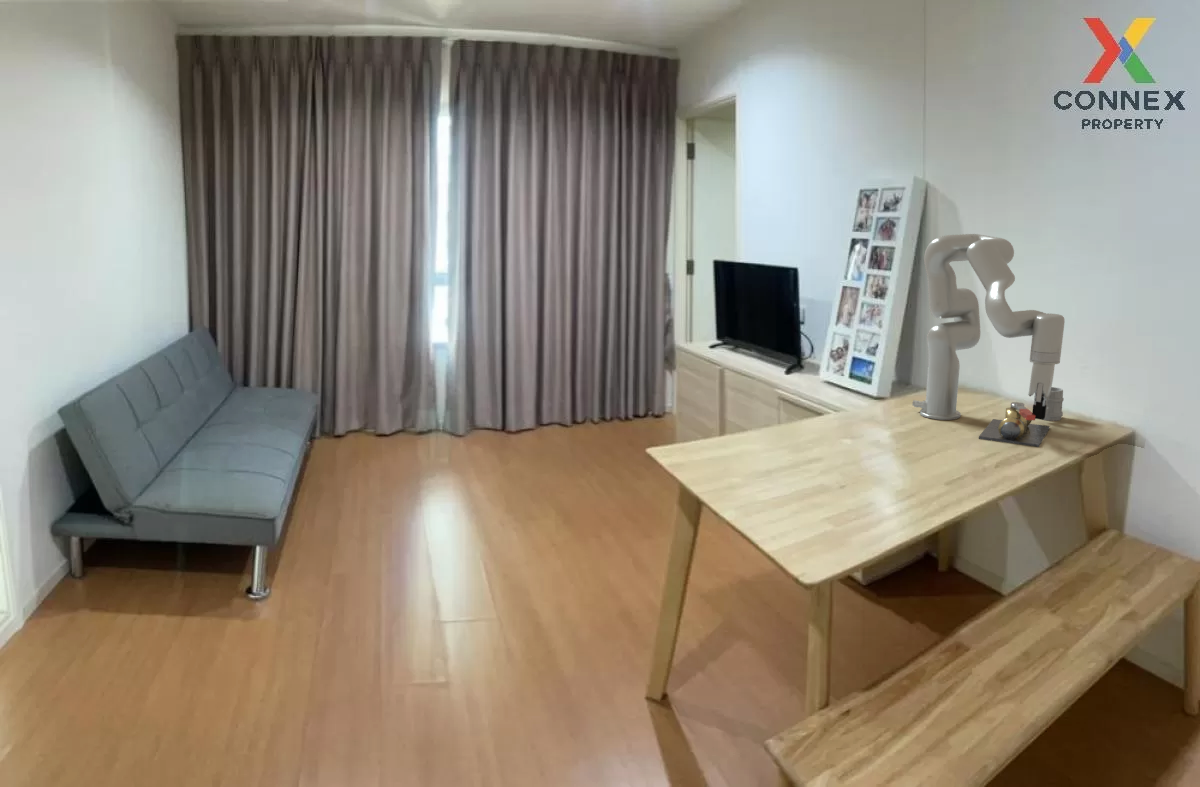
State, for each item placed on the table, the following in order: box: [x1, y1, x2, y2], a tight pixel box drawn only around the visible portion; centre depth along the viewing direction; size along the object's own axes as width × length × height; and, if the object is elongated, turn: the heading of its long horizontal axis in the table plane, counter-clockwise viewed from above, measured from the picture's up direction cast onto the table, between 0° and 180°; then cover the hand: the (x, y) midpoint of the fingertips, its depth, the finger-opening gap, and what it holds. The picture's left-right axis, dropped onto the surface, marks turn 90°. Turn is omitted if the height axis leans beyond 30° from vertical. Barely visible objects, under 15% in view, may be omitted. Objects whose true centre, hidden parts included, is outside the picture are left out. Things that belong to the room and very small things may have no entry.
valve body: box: [978, 406, 1050, 448], centre depth 228 cm, size 16×22×8 cm
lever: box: [1010, 401, 1036, 421], centre depth 222 cm, size 15×4×2 cm, turn 167°
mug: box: [1042, 386, 1064, 422], centre depth 241 cm, size 8×12×12 cm, turn 136°
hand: (1038, 418), depth 217 cm, fingers closed
